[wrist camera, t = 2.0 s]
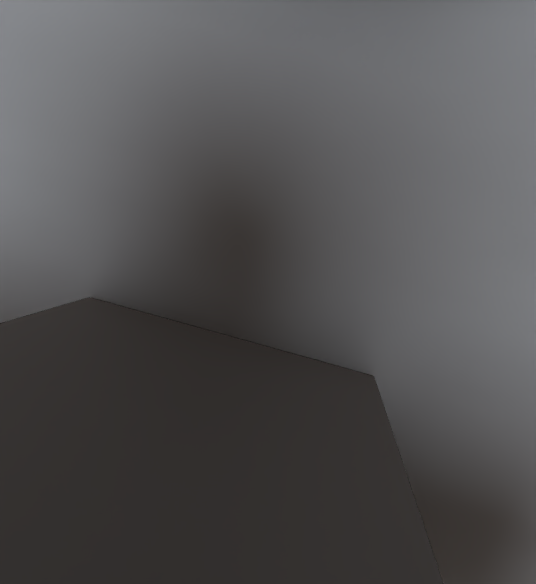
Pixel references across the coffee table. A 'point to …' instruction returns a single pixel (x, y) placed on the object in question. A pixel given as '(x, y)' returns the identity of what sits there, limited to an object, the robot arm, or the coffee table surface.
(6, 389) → the grey cube
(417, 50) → the coffee table surface
